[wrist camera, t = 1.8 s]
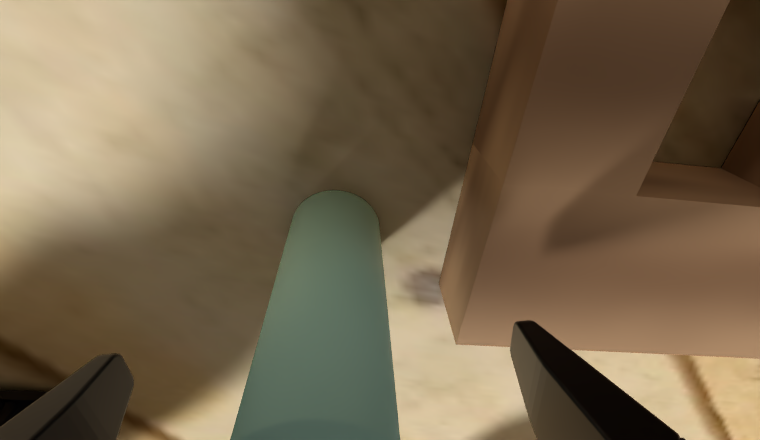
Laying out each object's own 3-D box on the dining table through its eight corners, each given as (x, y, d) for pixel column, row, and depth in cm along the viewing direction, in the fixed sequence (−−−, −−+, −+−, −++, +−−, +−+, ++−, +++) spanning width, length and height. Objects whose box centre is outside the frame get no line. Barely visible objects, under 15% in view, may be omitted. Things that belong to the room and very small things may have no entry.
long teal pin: (374, 268, 15) (390, 518, 8) (290, 262, 14) (229, 517, 7) (384, 194, 13) (415, 421, 6) (291, 186, 13) (216, 416, 6)
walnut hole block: (726, 301, 16) (796, 360, 14) (438, 283, 15) (456, 344, 12) (1133, -275, 9) (1474, -392, 6) (606, -411, 7) (744, -632, 5)
